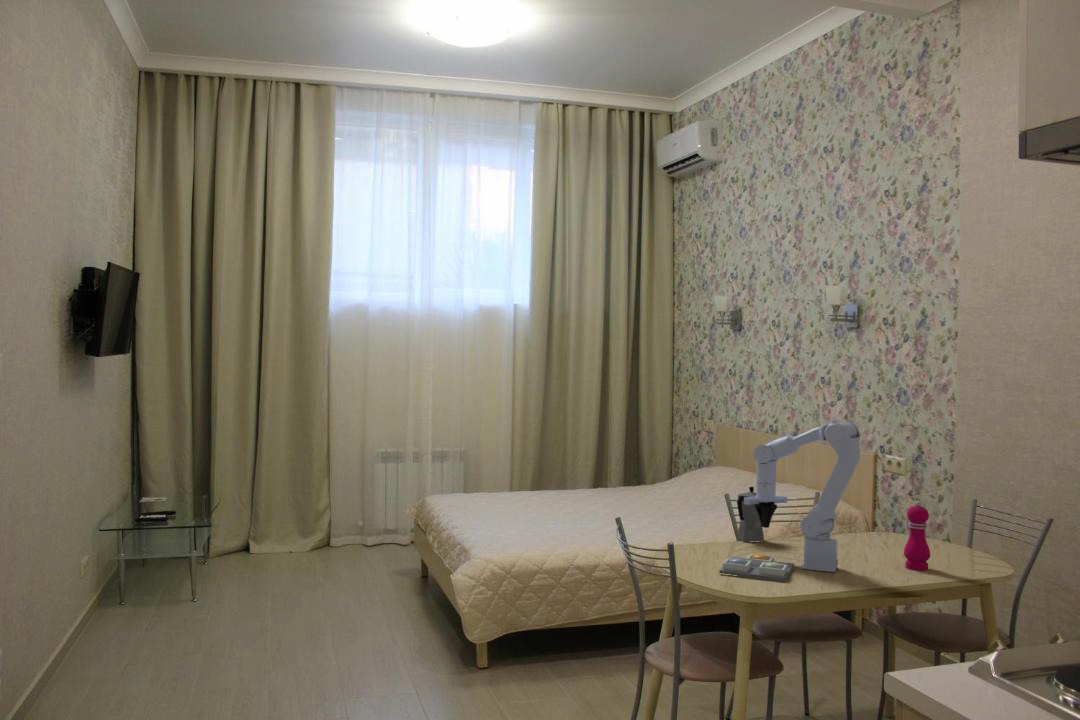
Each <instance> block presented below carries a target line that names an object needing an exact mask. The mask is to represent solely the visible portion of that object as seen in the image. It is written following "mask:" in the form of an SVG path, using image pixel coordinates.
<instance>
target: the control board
mask: <svg viewBox="0 0 1080 720" xmlns="http://www.w3.org/2000/svg"><path fill="white" fill-rule="evenodd" d="M753 554H754V553H750V554H749V555H748V556H747V557H740V556H739V557H737V556H731V558H739V559H744V560H745V561H746V562H745V565H740V564H732V563H729V559H731V558H729V557H727V558H726V559H725V560H724V561H723V562H722V567H721V568H720V569H719V573H724V574H731V575H737V576H743V577H742V578H744V577H748V578H747V579H752V578H756V579H755V580H762V581H771V582H778V583H786V581H787V580H788V578H789V577H790V576H791V575H790V574H791V573H792V571H794V569H795V563H792V562H785V561H775V556H774V555H773V556H772V555H768V560H760V559H752V555H753ZM766 562H775V563H780V564H781V565H782V569H776V568H767V567H765V563H766ZM793 568H794V569H793ZM719 573H718V574H719Z"/></svg>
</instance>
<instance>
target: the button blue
mask: <svg viewBox="0 0 1080 720" xmlns="http://www.w3.org/2000/svg"><path fill="white" fill-rule="evenodd" d="M745 562H746V561H745V560H744V559H739V558H732V557H731V559H729V563H732V564H740V565H745Z"/></svg>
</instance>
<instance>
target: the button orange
mask: <svg viewBox="0 0 1080 720" xmlns="http://www.w3.org/2000/svg"><path fill="white" fill-rule="evenodd" d="M752 554H753V555H752V559H760V560H768V556H769V555H767V554H762V553H752Z"/></svg>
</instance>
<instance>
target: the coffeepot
mask: <svg viewBox="0 0 1080 720" xmlns="http://www.w3.org/2000/svg"><path fill="white" fill-rule="evenodd" d="M754 490H755V487H754V486H749V491H748V492H743V493H738V495H737V500H736V505H737V509H738V510H737V511H738V517H739V520H740V521H739V527H738V530H737V531H738V532H737V537H736V539H737V540H738V541H739V542H744V543H751V542H750V541H762V540H765V537H764V536H765V535H764V530H763V529H764V527H761V522H760V518H759V515H758V512H757V510H756V508H755V506H754V504H750V505H746V504H744V498H747V497H754V496H756V491H755V492H754ZM762 502H765V501H762Z"/></svg>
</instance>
